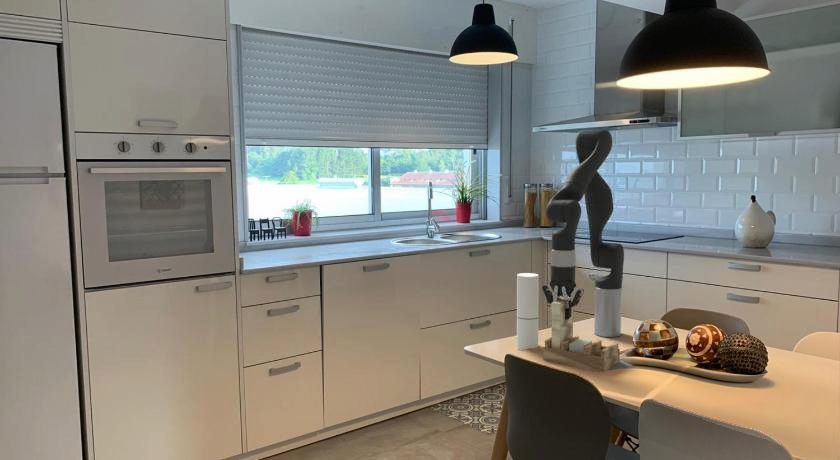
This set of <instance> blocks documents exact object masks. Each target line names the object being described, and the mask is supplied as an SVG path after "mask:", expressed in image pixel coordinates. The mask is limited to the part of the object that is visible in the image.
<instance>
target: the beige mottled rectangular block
mask: <svg viewBox="0 0 840 460" xmlns="http://www.w3.org/2000/svg"><path fill="white" fill-rule="evenodd" d="M573 298H574V297H572V300H573ZM550 306H551V307H550V308H551V310H550V311H551V319H550V320H551V337H552V348H555V349H560V350H561V343H562V342H564V341H566V340H569V339H571V338H573V337H574V307H572V316H571V318H570V319H568V320H565V308H566V307H565V301H564V298H563V297H561V299H559V300H557V301H554V302H552V303H551V304H550Z"/></svg>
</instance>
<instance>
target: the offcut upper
mask: <svg viewBox="0 0 840 460" xmlns="http://www.w3.org/2000/svg"><path fill="white" fill-rule="evenodd" d="M591 343H593V340H589V339H588V340H587V339H582V338H579V339H577V340H575V341H573V342H572V343H570V344H569V351H571V352H576V353H581V354H584V347H586V346H588V345H590V344H591Z"/></svg>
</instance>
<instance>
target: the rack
mask: <svg viewBox="0 0 840 460" xmlns="http://www.w3.org/2000/svg"><path fill="white" fill-rule="evenodd" d="M577 339H580V336H577V335H576V336H573V338H571V339H569V340H566V341H564V342H562V343H561V350H560V349H555V348H552V336H551V337H549V338H546V339H545V340H544V346H543V351H542V352H543V353H542V356H543V358H542V360H543V361H546V362H550V363H556V364H562V365H564V366H565V365H566V366H569V367H571V366H572V367H576V368H581V369H586V370H589V371H590V370H591V371H595V372H600V373H603V372H605V371H606V370H608V369H611V367H614V366H615V365H616V364H618V363H620V354H621V352H620V351H621V349H620V348H619V342H614V343H612V344H611V345H609V346H606V345H603V340H601V339H597V340H596V341H592V343H591V344H590V345H588V346H586V347H584V354H581V353H576V352H571V351H569V344H570V343H572V342H573V341H575V340H577Z"/></svg>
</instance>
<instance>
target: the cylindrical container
mask: <svg viewBox="0 0 840 460" xmlns="http://www.w3.org/2000/svg"><path fill="white" fill-rule="evenodd" d="M516 274H517V275H516V349H517V351H521V350H522V351H523V352H524V351H525V350H527V349H530V350H531V349H536V348H538V347H539V312H540V311H539V304H540V303H539V299H540V298H539V294H540V292H539V291H540V289H539V285H540V282H539V281H540V280H539V278H540V277H539V274H537V273H534V272H533V273H532V272H523V273H522V272H521V273H516Z"/></svg>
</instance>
